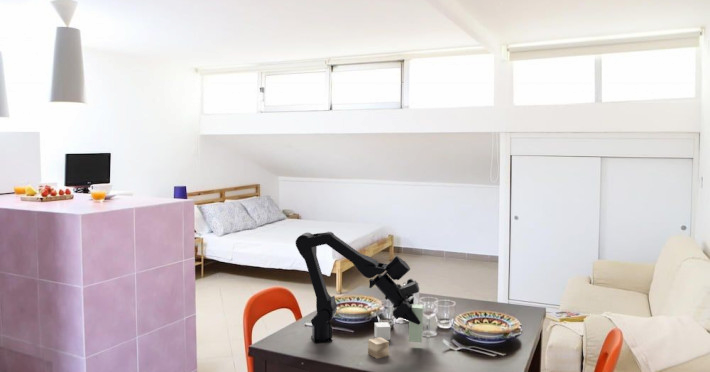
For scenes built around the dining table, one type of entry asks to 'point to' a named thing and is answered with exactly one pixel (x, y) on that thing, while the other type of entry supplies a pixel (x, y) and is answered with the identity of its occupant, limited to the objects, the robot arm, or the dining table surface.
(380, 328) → the white cube
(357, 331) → the dining table surface
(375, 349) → the oak cube
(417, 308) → the sage block
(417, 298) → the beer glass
